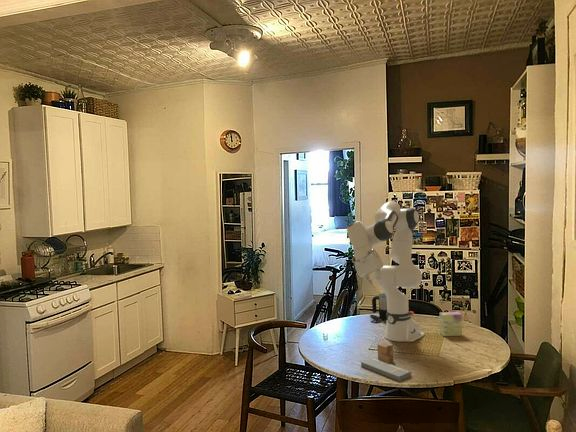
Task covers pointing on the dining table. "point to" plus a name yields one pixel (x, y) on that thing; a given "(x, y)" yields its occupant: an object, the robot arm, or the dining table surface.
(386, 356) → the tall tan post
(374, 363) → the board
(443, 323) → the box
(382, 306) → the milk frother
